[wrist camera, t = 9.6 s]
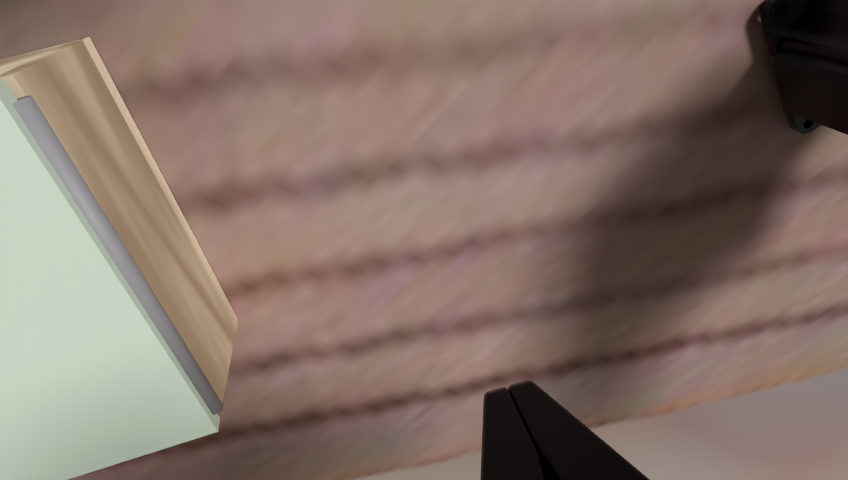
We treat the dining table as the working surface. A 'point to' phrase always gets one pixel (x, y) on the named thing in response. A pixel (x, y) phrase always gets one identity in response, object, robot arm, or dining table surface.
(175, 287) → the oak box
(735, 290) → the dining table surface
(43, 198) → the lid
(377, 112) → the dining table surface
